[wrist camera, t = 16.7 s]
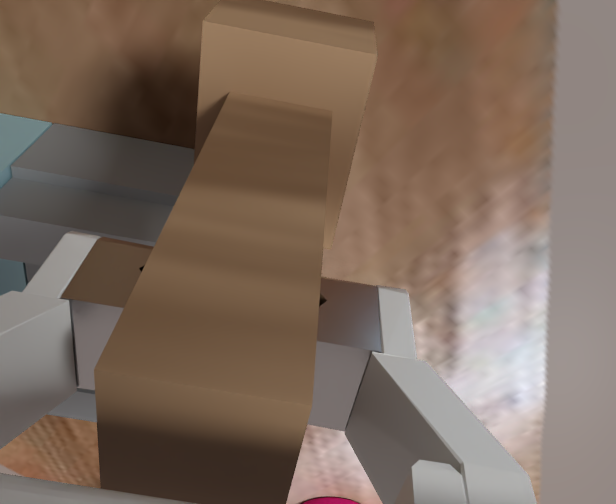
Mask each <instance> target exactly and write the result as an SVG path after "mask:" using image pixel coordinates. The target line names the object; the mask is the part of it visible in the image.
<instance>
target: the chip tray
mask: <svg viewBox="0 0 616 504" xmlns="http://www.w3.org/2000/svg"><path fill="white" fill-rule="evenodd" d="M51 126H52V123H51V122H45V121H40V120H34V119H29V118H23V117H18V116H13V115H7V114H2V113H0V189H1V188H2V187H3V186H4V185H5V184H6V183H7V182H8V181H9V180H10V179H11V178H12V171H11V165H12V164H13V163H14V162H15V161H16V160H17V159H18V158H19V157H20V156H21V155H22V154H23V153H24V152H25V151H26V150H27V149H28V148H29V147H31V146H32V145H33V144H34V143H35V142H36V141H37V140H38V139H39V138H40V137H41V136H42V135H43V134H44V133H45V132H46V131H47V130H48V129H49V128H50V127H51ZM27 284H28V280H27V273H26V266H25V263H24V262H18V261H12V260H6V259H1V258H0V296H1V295H3V294H6V293H8V292H10V291H18V292H22V291H23V290H24V288H25V287H26V286H27Z"/></svg>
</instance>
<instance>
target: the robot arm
mask: <svg viewBox="0 0 616 504" xmlns="http://www.w3.org/2000/svg"><path fill="white" fill-rule="evenodd" d="M153 248H154V247H153V246H148V245H143V244H138V243H133V242H128V241H123V240H118V239H113V238H108V237H100V236H96V235H91V234H86V233H80V232H75V231H70V232H68V233H66V234H65V235H64V236H63V237H62V238H61V240H60V241H59V242H58V244H57V245H56V246H55V248H54V249H53V250H52V252H51V253H50V255H49V256H48V257H47V259H46V260H45V261H44V263H43V264H42V265H41V267H40V268H39V269H38V271H37V272H36V274H35V275H34V276H33V278H32V279H31V280H30V282H29V283H28V284H27V286H26V287H25V288H24V290H23V291H22V292H18V291H10V292H8V293H6V294H3V295H1V296H0V449H1V448H3V447H4V446H5V445H6V444H8V443H9V442H10V441H12V440H13V439H14V438H16V437H17V436H18V435H20V434H21V433H22V432H24V431H25V430H26V429H28V428H29V427H30V426H31V425H33V424H34V423H35V422H37V421H38V420H39V419H41V418H42V417H43V416H45V415H46V414H47V413H49V412H50V411H51V410H52V409H54V408H55V407H56V406H58V405H59V404H60V403H62V402H63V401H64V400H66V399H67V398H68V397H70V396H71V395H72V394H74V393H75V392H76V391H77V388H82V389H89V390H95V382H94V368H95V366H96V364H97V362H98V360H99V358H100V356H101V354H102V352H103V350H104V348H105V346H106V344H107V342H108V340H109V338H110V336H111V334H112V332H113V330H114V328H115V325H116V323H117V321H118V319H119V317H120V315H121V313H122V311H123V309H124V307H125V305H126V303H127V301H128V299H129V297H130V295H131V293H132V291H133V289H134V287H135V285H136V283H137V280H138V278H139V276H140V274H141V272H142V270H143V268H144V266H145V264H146V262H147V260H148V258H149V256H150V254H151V252H152V250H153ZM307 424H309V425H314V426H319V427H325V428H330V429H335V430H340V431H345V435H346V437H347V439H348V441H349V443H350V444H351V446H352V448H353V450H354V452H355V453H356V455H357V457H358V459H359V461H360V463H361V464H362V466H363V468H364V470H365V472H366V474H367V475H368V477H369V479H370V481H371V483H372V484H373V486H374V488H375V490H376V492H377V494H378V495H379V497H380V499H381V501H382V503H383V504H537V502H536V499H535V495H534V491H533V488H532V484H531V481H530V477H529V475H528V474H527V473H526V471H525V470H524V469H523V468H522V467H521V466H520V465H519V464H518V463H517V461H516V460H515V459H514V458H513V457H512V456H511V455H510V454H509V453H508V451H507V450H506V449H505V448H504V447H503V446H502V445H501V444H500V443H499V441H498V440H497V439H496V438H495V437H494V436H493V435H492V434H491V433H490V431H489V430H488V429H487V428H486V427H485V426H484V425H483V424H482V423H481V421H480V420H479V419H478V418H477V417H476V416H475V415H474V414H473V413H472V411H471V410H470V409H469V408H468V407H467V406H466V405H465V404H464V403H463V401H462V400H461V399H460V398H459V397H458V396H457V395H456V394H455V393H454V391H453V390H452V389H451V388H450V387H449V386H448V385H447V384H446V383H445V381H444V380H443V379H442V378H441V377H440V376H439V375H438V374H437V373H436V371H435V370H434V369H433V368H432V367H431V366H430V365H429V364H428V363H427V362H426V361H424V360H418V359H417V354H416V347H415V339H414V332H413V324H412V316H411V309H410V301H409V294H408V292H407V291H406V289H400V288H393V287H387V286H380V285H376V286H373V285H367V284H362V283H356V282H350V281H344V280H338V279H332V278H327V277H321V285H320V300H319V314H318V329H317V343H316V358H315V372H314V387H313V401H312V408H311V412H310V416H309V419H308V423H307ZM0 504H196V503H190V502H183V501H177V500H170V499H164V498H157V497H151V496H145V495H138V494H132V493H125V492H119V491H112V490H106V489H99V488H93V487H87V486H80V485H74V484H67V483H61V482H54V481H48V480H41V479H35V478H29V477H22V476H16V475H9V474H3V473H0Z"/></svg>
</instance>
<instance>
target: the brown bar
mask: <svg viewBox="0 0 616 504" xmlns="http://www.w3.org/2000/svg"><path fill="white" fill-rule="evenodd" d="M377 57H378V52H377V44H376V36H375V28H374V22H371V21H366V20H361V19H356V18H351V17H346V16H341V15H336V14H331V13H326V12H321V11H316V10H311V9H306V8H301V7H296V6H291V5H286V4H280V3H275V2H270V1H265V0H220V1H219V2H218V3H217V5H216V6H215V7H214V8H213V9H212V11H211V12H210V13H209V14H208V15H207V17H206V18H205V19H204V20H203V28H202V43H201V59H200V74H199V89H198V105H197V120H196V135H195V151H194V166H193V168H192V170H191V172H190V174H189V176H188V178H187V180H186V182H185V184H184V186H183V188H182V191H181V193H180V195H179V197H178V199H177V201H176V203H175V205H174V207H173V209H172V211H171V213H170V215H169V217H168V219H167V221H166V223H165V225H164V227H163V229H162V231H161V233H160V235H159V238H158V240H157V242H156V244H155V246H154V248H153V250H152V252H151V254H150V256H149V258H148V260H147V262H146V264H145V266H144V268H143V270H142V272H141V274H140V276H139V278H138V280H137V283H136V285H135V287H134V289H133V291H132V293H131V295H130V297H129V299H128V301H127V303H126V305H125V307H124V309H123V311H122V313H121V315H120V317H119V319H118V321H117V323H116V325H115V328H114V330H113V332H112V334H111V336H110V338H109V340H108V342H107V344H106V346H105V348H104V350H103V352H102V354H101V356H100V358H99V360H98V362H97V364H96V366H95V368H94V382H95V398H96V415H97V432H98V449H99V465H100V482H101V489H106V490H112V491H119V492H125V493H132V494H138V495H145V496H151V497H157V498H164V499H170V500H177V501H183V502H190V503H196V504H286V501H287V497H288V494H289V490H290V486H291V482H292V479H293V475H294V471H295V468H296V464H297V460H298V456H299V453H300V449H301V445H302V442H303V438H304V434H305V430H306V427H307V423H308V419H309V416H310V412H311V408H312V401H313V387H314V372H315V358H316V343H317V329H318V314H319V300H320V285H321V271H322V257H323V248H324V249H330V250H331V248H332V244H333V239H334V235H335V231H336V227H337V223H338V219H339V214H340V210H341V206H342V202H343V198H344V194H345V190H346V185H347V181H348V177H349V173H350V169H351V165H352V160H353V156H354V152H355V148H356V144H357V140H358V136H359V131H360V127H361V123H362V119H363V115H364V111H365V107H366V102H367V98H368V94H369V90H370V86H371V82H372V77H373V73H374V69H375V65H376V61H377Z"/></svg>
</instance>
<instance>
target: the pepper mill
mask: <svg viewBox="0 0 616 504" xmlns="http://www.w3.org/2000/svg"><path fill="white" fill-rule="evenodd" d="M302 504H359V503H357V502H355V501H352V500H348V499H343V498H337V497H323V498H317V499H312V500H309V501H306V502H304V503H302Z"/></svg>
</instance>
